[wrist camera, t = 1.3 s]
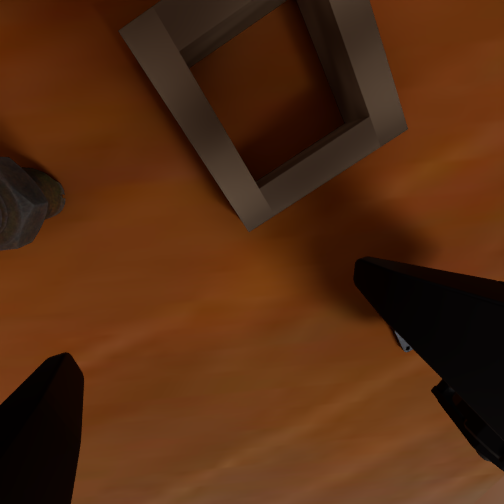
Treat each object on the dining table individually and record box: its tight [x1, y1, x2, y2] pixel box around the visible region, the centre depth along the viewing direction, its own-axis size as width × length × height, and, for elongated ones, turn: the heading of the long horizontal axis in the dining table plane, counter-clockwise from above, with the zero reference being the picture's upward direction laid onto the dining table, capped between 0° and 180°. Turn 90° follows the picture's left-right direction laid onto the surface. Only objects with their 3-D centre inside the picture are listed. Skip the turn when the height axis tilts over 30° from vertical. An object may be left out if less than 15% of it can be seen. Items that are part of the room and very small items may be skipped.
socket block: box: [119, 0, 408, 232], centre depth 15 cm, size 12×12×3 cm
